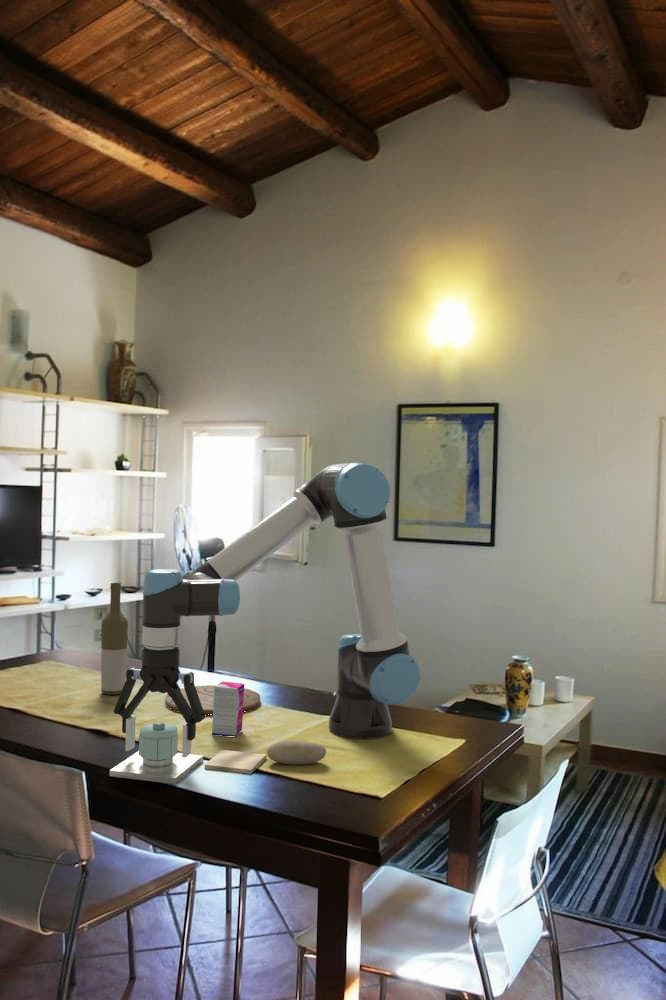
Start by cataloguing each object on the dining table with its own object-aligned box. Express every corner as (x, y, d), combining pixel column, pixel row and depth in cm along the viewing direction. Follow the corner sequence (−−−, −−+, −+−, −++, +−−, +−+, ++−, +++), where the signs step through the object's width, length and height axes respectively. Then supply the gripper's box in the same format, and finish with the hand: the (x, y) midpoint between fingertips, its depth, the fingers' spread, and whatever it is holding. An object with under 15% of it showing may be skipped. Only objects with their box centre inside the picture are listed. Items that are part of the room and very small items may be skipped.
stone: (264, 746, 179) (317, 728, 182) (272, 776, 178) (326, 757, 180) (265, 746, 174) (320, 727, 176) (274, 776, 172) (329, 757, 175)
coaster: (266, 758, 179) (266, 754, 179) (251, 773, 170) (251, 769, 170) (222, 753, 182) (222, 749, 182) (204, 768, 172) (204, 764, 172)
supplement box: (235, 738, 193) (237, 688, 193) (211, 735, 194) (212, 686, 194) (243, 730, 199) (244, 682, 198) (219, 728, 200) (220, 680, 199)
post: (203, 761, 176) (203, 728, 176) (175, 784, 163) (176, 748, 163) (141, 754, 180) (142, 721, 179) (109, 776, 166) (110, 741, 166)
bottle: (131, 693, 230) (134, 583, 229) (109, 697, 224) (112, 585, 224) (116, 688, 234) (119, 581, 234) (94, 692, 229) (97, 583, 228)
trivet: (221, 722, 206) (222, 715, 206) (144, 706, 218) (145, 699, 218) (278, 701, 227) (278, 694, 227) (205, 687, 240) (205, 681, 240)
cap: (182, 750, 174) (183, 720, 174) (167, 761, 167) (168, 730, 166) (149, 746, 176) (150, 717, 175) (133, 757, 168) (133, 726, 168)
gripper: (223, 647, 171) (220, 752, 172) (115, 638, 177) (113, 740, 177) (209, 654, 164) (206, 764, 165) (97, 644, 170) (95, 751, 170)
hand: (158, 752), depth 171 cm, fingers open, 12 cm apart
